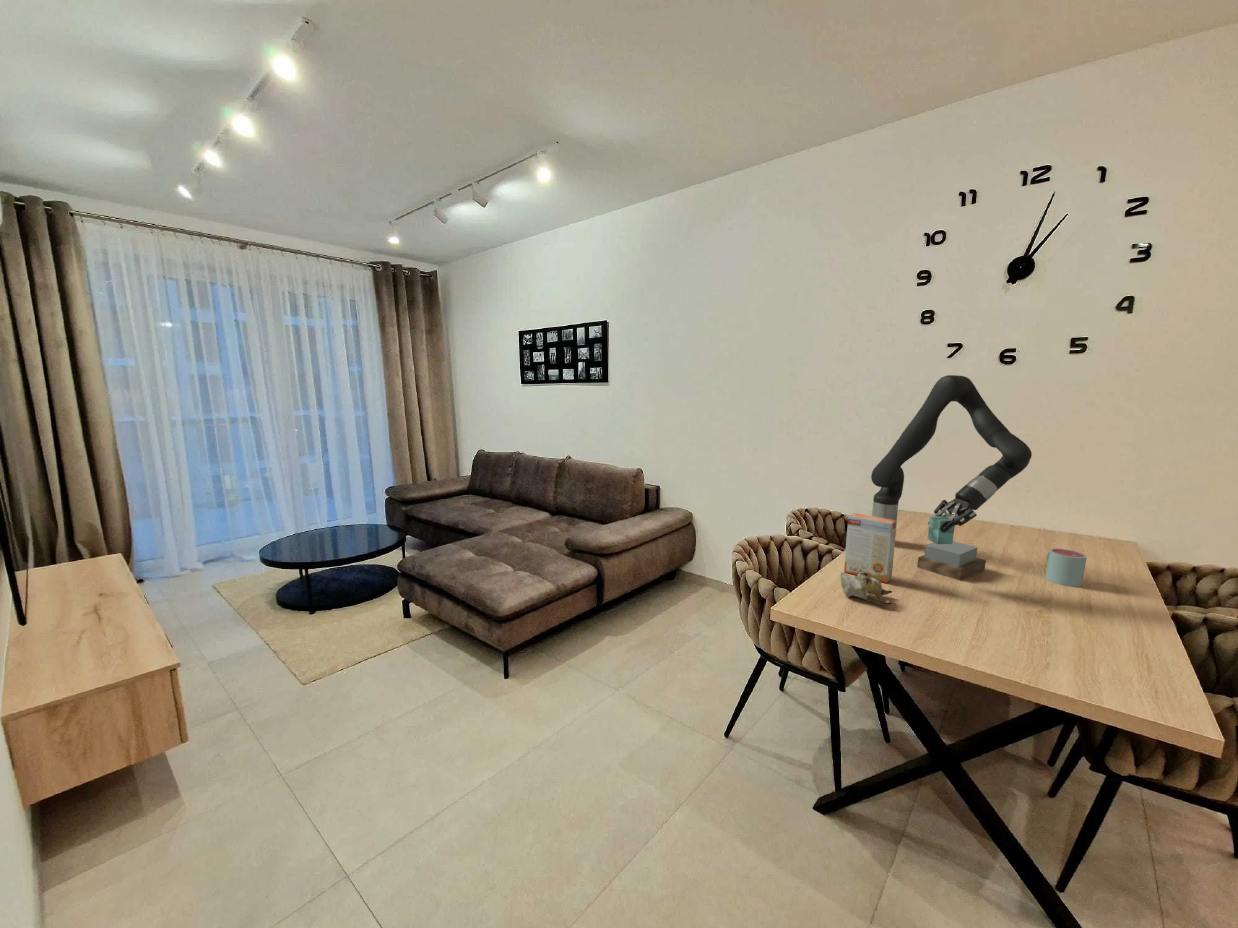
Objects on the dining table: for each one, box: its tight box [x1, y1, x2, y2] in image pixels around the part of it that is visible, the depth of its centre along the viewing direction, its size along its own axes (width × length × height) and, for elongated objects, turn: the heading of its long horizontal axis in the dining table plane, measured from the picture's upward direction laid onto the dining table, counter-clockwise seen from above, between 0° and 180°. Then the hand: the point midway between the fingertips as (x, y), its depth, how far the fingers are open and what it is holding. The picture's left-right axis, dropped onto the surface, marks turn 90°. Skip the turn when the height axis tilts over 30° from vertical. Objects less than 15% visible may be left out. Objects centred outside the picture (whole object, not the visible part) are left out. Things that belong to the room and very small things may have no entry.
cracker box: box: [843, 512, 898, 584], centre depth 167 cm, size 14×6×21 cm, turn 45°
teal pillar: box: [927, 515, 956, 544], centre depth 160 cm, size 5×5×8 cm
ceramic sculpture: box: [840, 571, 894, 606], centre depth 150 cm, size 11×9×15 cm
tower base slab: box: [916, 554, 987, 582], centre depth 175 cm, size 14×18×4 cm
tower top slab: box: [924, 540, 978, 567], centre depth 175 cm, size 11×14×4 cm
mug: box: [1045, 548, 1088, 588], centre depth 166 cm, size 14×9×10 cm
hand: (936, 527), depth 160 cm, fingers closed on teal pillar, 5 cm apart
